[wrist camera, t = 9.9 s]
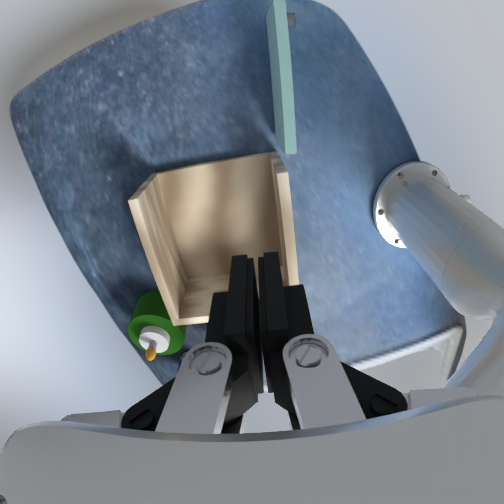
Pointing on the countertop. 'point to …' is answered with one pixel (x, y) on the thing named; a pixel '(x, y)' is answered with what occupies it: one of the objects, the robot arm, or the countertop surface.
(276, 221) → the crate
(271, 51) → the door
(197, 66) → the countertop surface
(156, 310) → the candle
